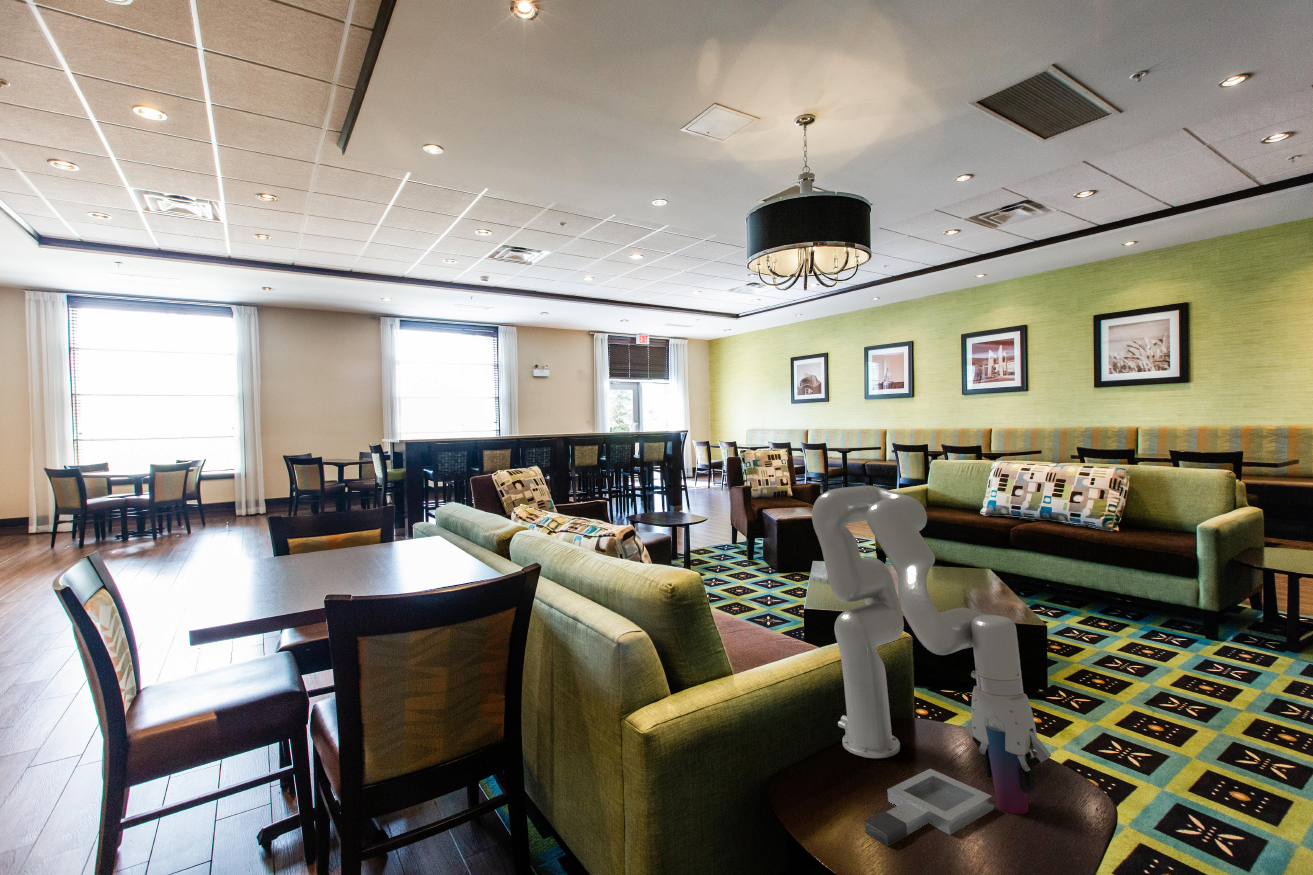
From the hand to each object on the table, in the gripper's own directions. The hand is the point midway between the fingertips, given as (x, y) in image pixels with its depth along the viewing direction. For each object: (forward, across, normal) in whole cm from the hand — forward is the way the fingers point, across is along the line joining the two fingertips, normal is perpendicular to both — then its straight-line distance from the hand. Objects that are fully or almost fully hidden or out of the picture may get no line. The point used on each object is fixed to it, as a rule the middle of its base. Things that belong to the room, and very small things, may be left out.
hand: (1010, 781), depth 111 cm
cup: (+5, 0, 0) cm, 5 cm away
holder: (+5, -8, -16) cm, 18 cm away
